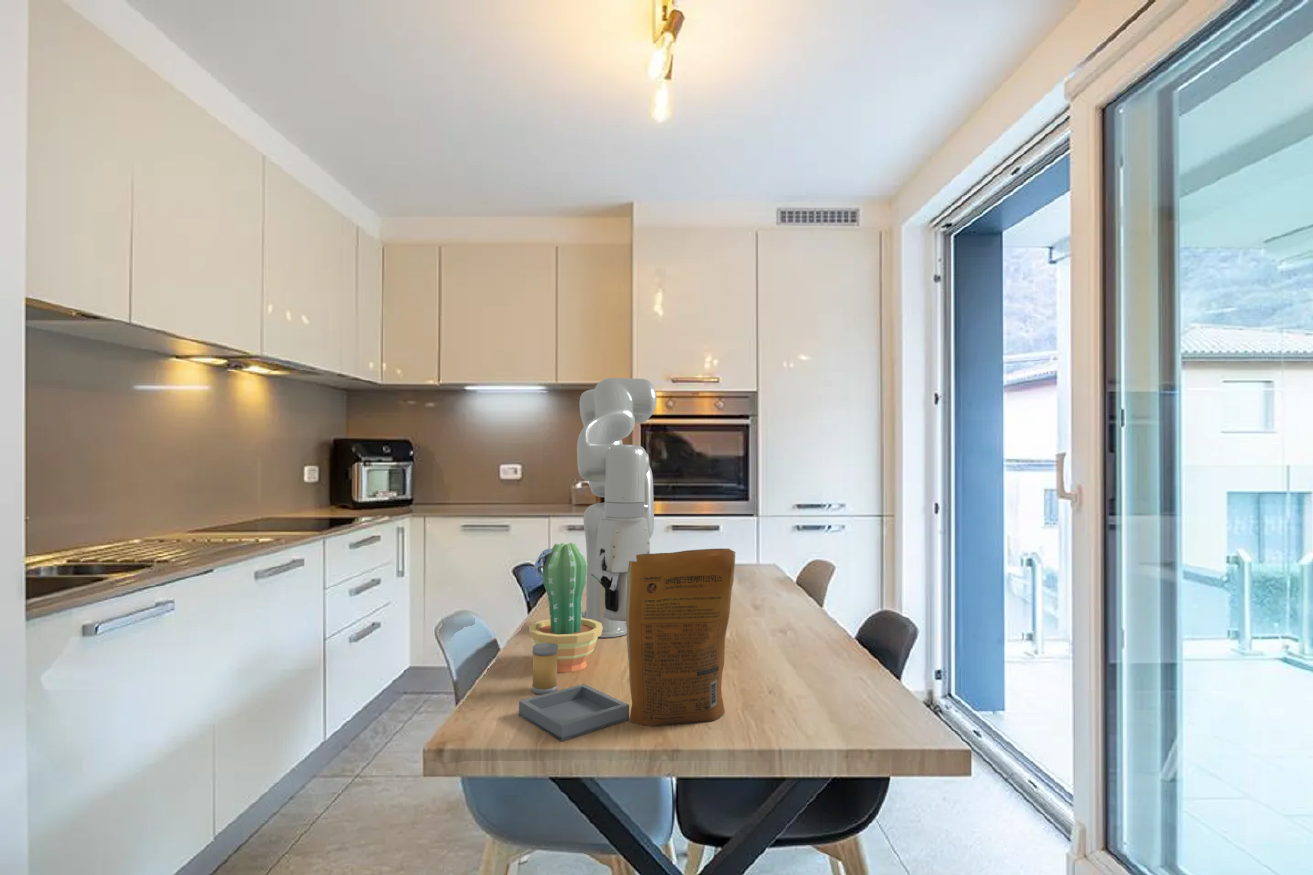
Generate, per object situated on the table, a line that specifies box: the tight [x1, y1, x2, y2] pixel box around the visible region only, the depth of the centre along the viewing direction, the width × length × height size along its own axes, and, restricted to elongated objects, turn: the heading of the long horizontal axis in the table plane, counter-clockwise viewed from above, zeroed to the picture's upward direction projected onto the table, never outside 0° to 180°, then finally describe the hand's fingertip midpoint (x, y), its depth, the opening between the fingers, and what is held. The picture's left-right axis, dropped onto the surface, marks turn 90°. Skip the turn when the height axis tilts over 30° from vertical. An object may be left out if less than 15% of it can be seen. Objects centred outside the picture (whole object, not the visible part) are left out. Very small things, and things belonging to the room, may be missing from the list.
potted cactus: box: [528, 542, 603, 673], centre depth 136 cm, size 15×15×25 cm
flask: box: [603, 572, 628, 623], centre depth 123 cm, size 7×7×10 cm
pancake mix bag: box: [625, 548, 736, 727], centre depth 108 cm, size 7×19×28 cm, turn 104°
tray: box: [518, 683, 630, 743], centre depth 108 cm, size 13×13×2 cm
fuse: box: [531, 643, 558, 696], centre depth 121 cm, size 5×5×8 cm
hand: (623, 606), depth 123 cm, fingers closed on flask, 4 cm apart
